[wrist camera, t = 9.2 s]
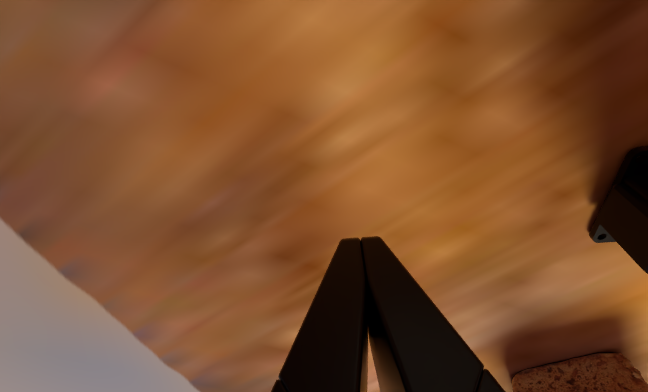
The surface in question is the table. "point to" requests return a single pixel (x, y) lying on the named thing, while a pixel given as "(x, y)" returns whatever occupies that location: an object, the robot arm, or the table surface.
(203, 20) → the table surface
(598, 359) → the bread
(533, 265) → the table surface
